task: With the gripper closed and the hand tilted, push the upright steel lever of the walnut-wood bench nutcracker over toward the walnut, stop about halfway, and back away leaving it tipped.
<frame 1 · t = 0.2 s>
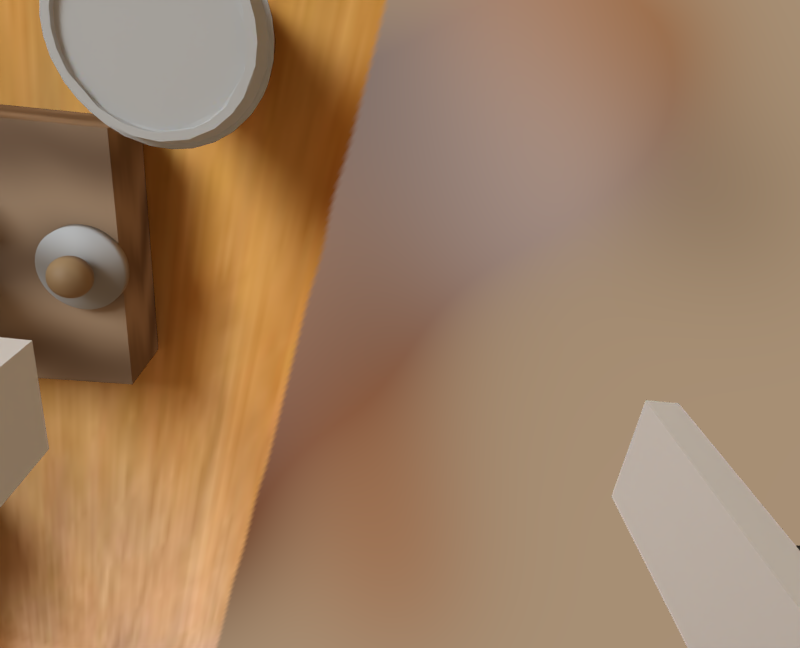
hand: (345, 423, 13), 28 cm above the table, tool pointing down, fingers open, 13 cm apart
disposable coffee cup: (222, 38, 35), on the table
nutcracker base: (42, 234, 39), on the table
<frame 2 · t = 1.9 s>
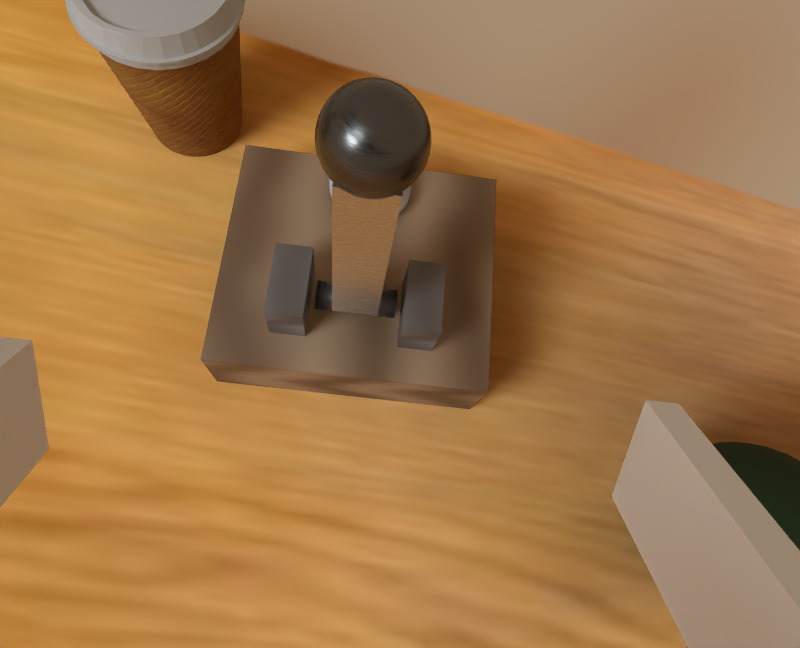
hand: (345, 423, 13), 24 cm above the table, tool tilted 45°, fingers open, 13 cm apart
disposable coffee cup: (198, 121, 43), on the table
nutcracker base: (357, 293, 40), on the table
toy figurine: (753, 541, 37), on the table
lever: (363, 234, 25), point 14 cm above the table, hinge at 0.0°
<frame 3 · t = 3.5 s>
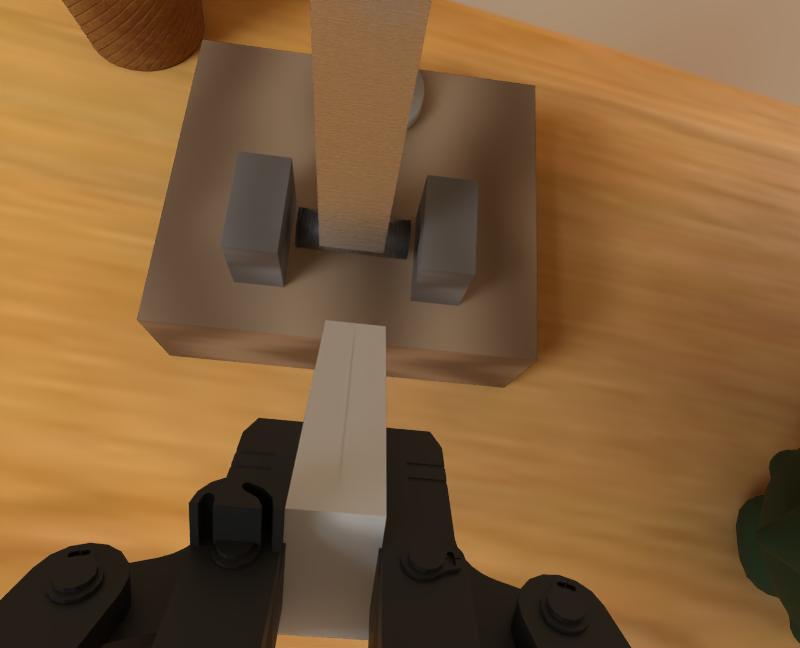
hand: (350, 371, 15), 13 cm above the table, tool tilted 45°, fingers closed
disposable coffee cup: (148, 30, 34), on the table
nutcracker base: (354, 241, 31), on the table
lever: (363, 103, 16), point 14 cm above the table, hinge at 0.0°
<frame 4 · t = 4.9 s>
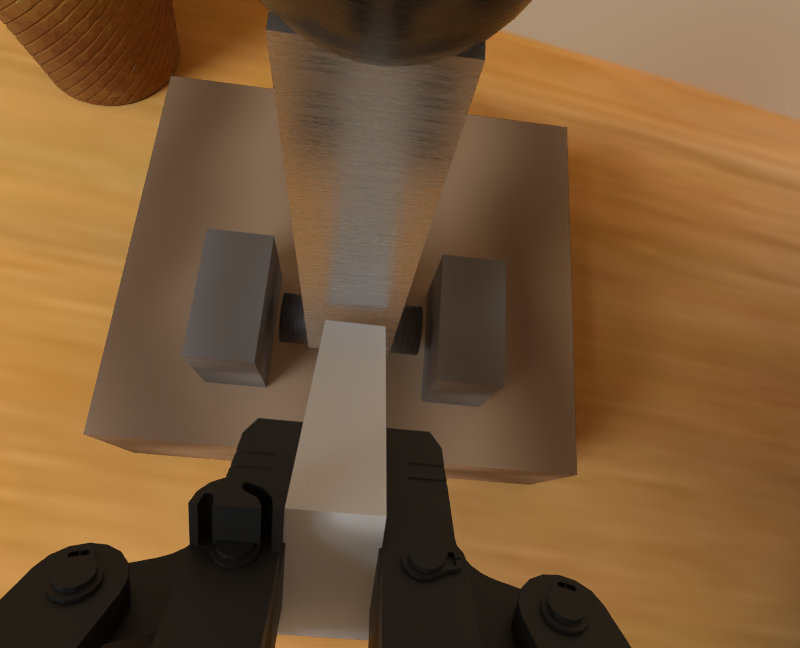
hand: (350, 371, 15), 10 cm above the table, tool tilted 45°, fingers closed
disposable coffee cup: (114, 56, 29), on the table
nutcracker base: (353, 307, 26), on the table
lever: (363, 202, 12), point 14 cm above the table, hinge at 0.0°, touching gripper
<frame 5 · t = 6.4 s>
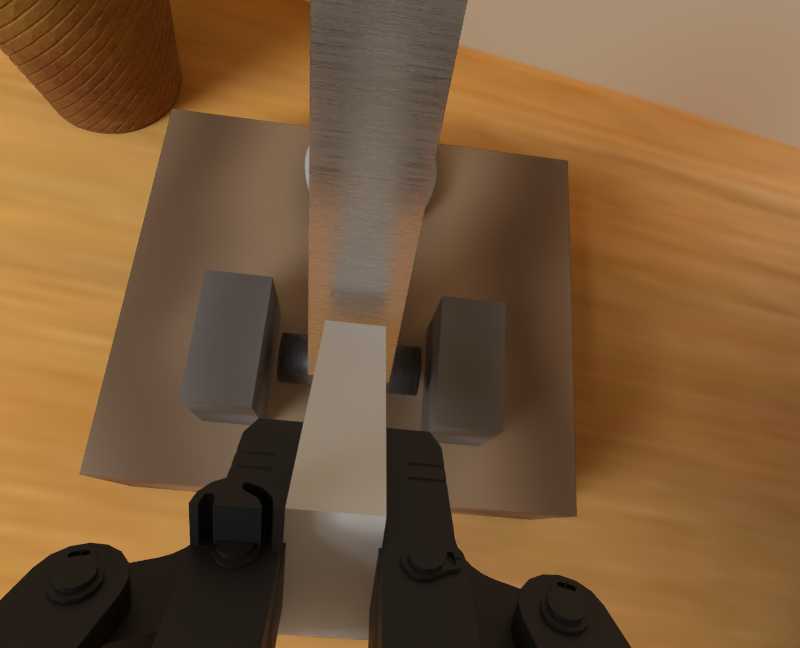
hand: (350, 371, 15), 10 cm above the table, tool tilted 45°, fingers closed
disposable coffee cup: (117, 84, 29), on the table
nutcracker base: (353, 338, 26), on the table
lever: (370, 168, 13), point 14 cm above the table, hinge at 18.9°
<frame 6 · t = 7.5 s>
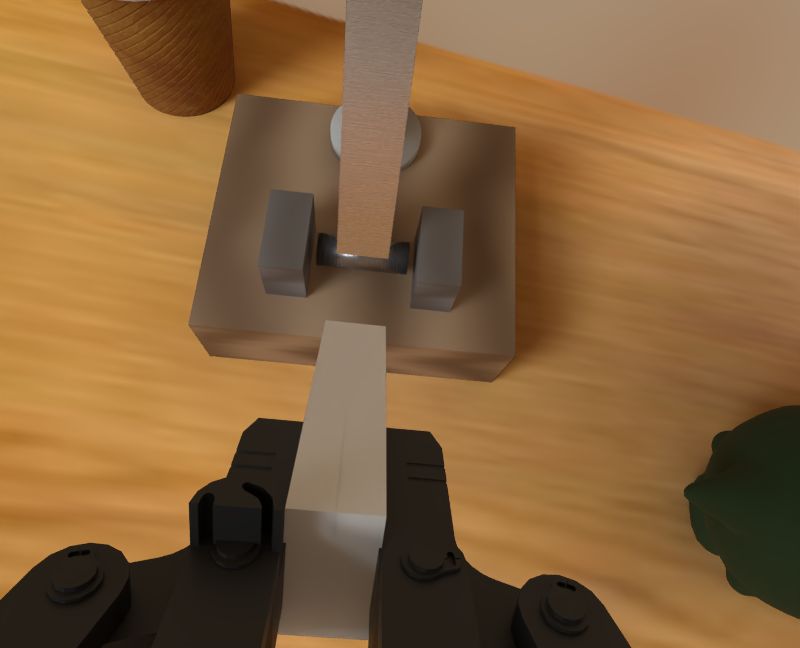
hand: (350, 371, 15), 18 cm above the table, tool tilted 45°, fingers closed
disposable coffee cup: (187, 81, 40), on the table
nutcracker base: (364, 259, 36), on the table
lever: (375, 111, 23), point 14 cm above the table, hinge at 18.9°
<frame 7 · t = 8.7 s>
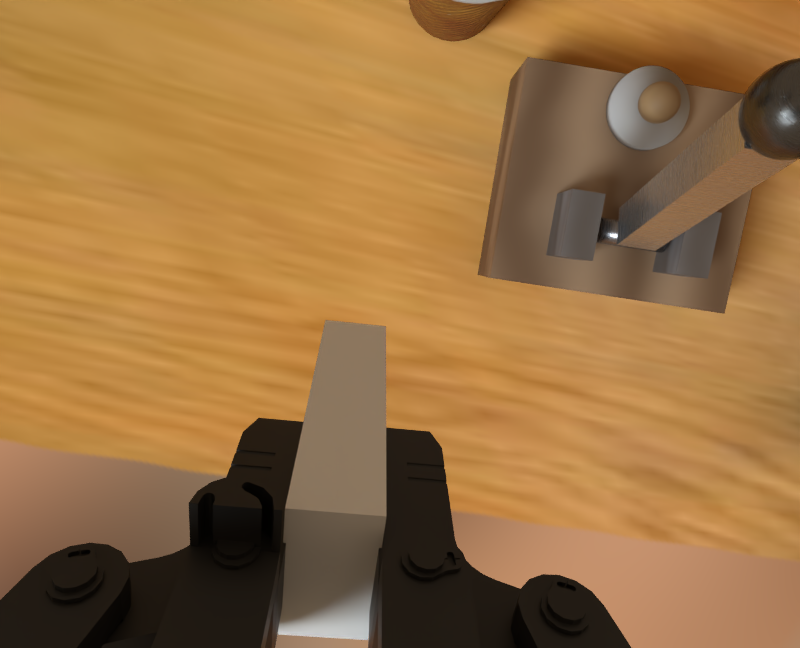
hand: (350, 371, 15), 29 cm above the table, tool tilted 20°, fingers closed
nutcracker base: (601, 196, 43), on the table
lever: (698, 182, 30), point 14 cm above the table, hinge at 18.9°
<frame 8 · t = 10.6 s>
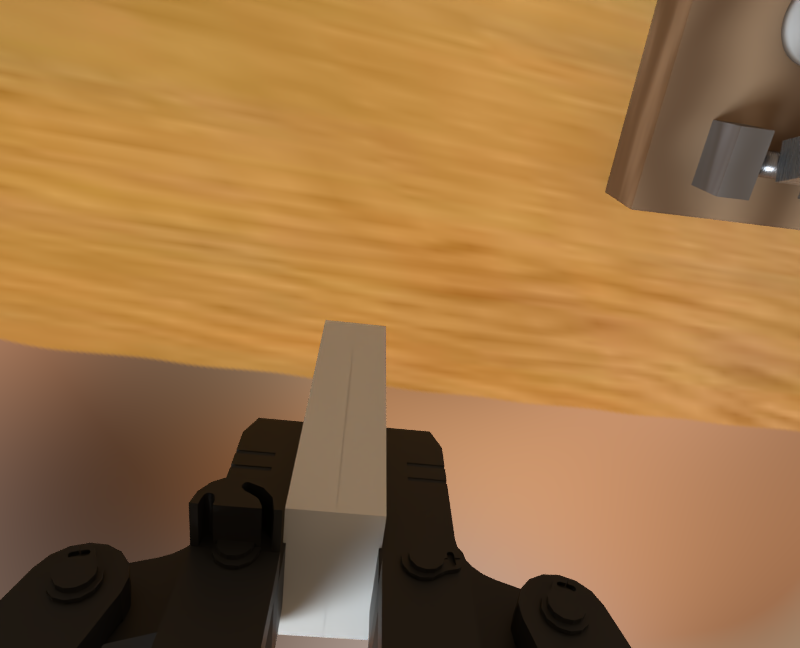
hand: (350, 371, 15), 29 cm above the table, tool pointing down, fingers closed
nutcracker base: (745, 104, 41), on the table
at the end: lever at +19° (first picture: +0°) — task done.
